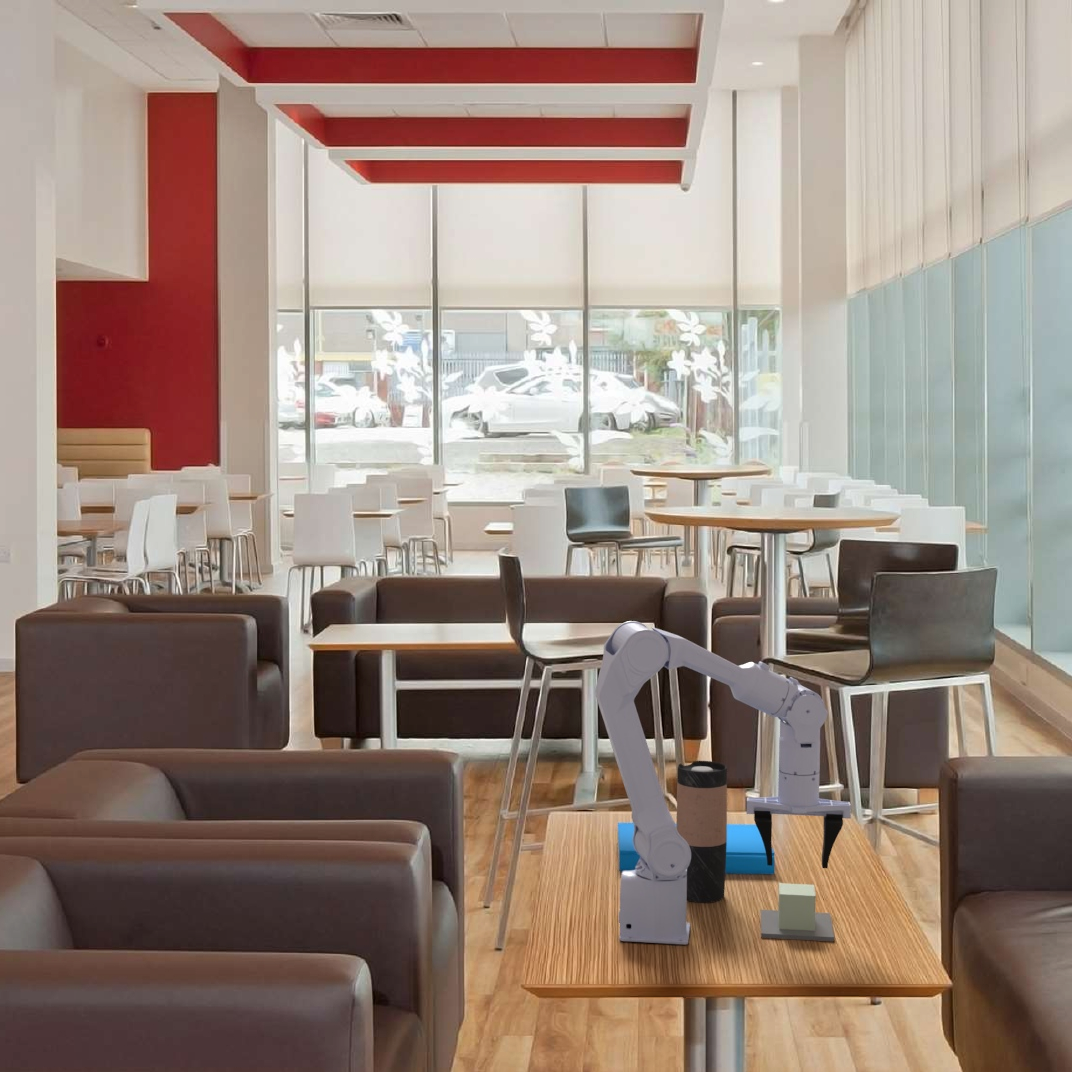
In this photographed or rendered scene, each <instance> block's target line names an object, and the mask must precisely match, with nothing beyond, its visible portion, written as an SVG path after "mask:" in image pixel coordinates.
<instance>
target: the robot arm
mask: <svg viewBox="0 0 1072 1072" xmlns="http://www.w3.org/2000/svg"><path fill="white" fill-rule="evenodd" d="M602 654H603V656H602V660H601V665H600V668H599V674H598V676H597V677H598V678H597V681H596V685H595V693H594V694H595V697H596V701H597V703H598V704H597V705H598V707H599V711H600V714H601V716H602V719H603V722H604V726H605V730H606V732H607V733H606V734H607V735H608V739H609V741H610V746H611V748H612V752H613V754H614V758H615V761H616V763H617V766H618V767H617V768H618V770H619V773H620V776H621V780H622V783H623V785H624V789H625V792H626V795H627V798H628V802H629V805H630V807H631V820H632V823H633V824H634V834H633V845H634V848H635V850H636V852H637V853H638V854H639V855H640V859H639V861H638V863H637V865H636V867H635V870H631V871H622V872H621V876H620V888H619V889H620V890H619V910H618V923H619V941H621V942H629V943H630V942H633V943H648V944H649V943H650V944H651V943H652V944H653V943H654V944H665V945H666V944H668V945H688V944H689V938H690V937H689V936H690V932H691V931H690V929H691V923H690V922H689V921H688V922H687V913H688V912H687V911H688V910H687V905H688V904H687V902H688V901H687V868H688V866H689V864H690V861H691V850H690V846H689V845H688V843H687V842H686V840H685V839H684V838H683V837H681V835H680V834H679V833H678V831H677V828H676V825H675V823H676V822H675V820H674V818H673V816H672V814H671V812H670V810H669V808H668V805H667V803H666V800H665V796H664V794H663V790H662V787H661V783H660V779H659V777H658V774H657V771H656V767H655V764H654V761H653V758H652V755H651V753H650V749H649V746H648V745H649V744H648V743H647V739H646V735H645V733H644V729H643V727H642V723H641V720H640V717H639V713H638V711H637V707H636V704H635V699H636V696H637V695H638V694H639V692H640V691H641V688H642V687H643V686H644V684H645V683H646V682H647V681H649V680H651V678H652V677H653V676H655V675H656V674H657V673H658V672H660V670H661V669H662V668H663V667H664V668H666V669H667V670H673V669H677V668H681V667H685V668H688V669H690V670H693V671H695V672H698V673H700V674H702V675H704V676H706V677H709V678H712V679H713V680H716V681H718V682H720V683H721V684H722V683H723V684H725V685H727V686H728V687H729V688H730V690H731V693H732V696H733V698H734V699H735V700H737V701H739V702H741V703H743V704H745V705H747V706H750V707H751V708H753V709H756V710H758V711H759V712H762V713H764V714H766V715H768V716H770V717H773V718H778V720H779V737H778V777H777V782H778V783H777V789H778V790H777V796H767V797H766V796H765V797H763V796H762V797H746V814H747V815H753V816H754V817H753V819H754V823H755V825H756V826H757V828H758V830H759V833H760V835H761V838H762V841H763V844H764V847H765V851H766V856H767V865H771V866H772V848H773V846H772V836H773V835H772V829H773V816H772V815H792V816H793V815H794V816H810V817H811V816H812V817H814V816H816V817H823V841H822V851H821V852H822V853H821V868H822V869H828V864H829V860H830V855H831V852H832V849H833V847H834V844H835V841H836V839H837V837H838V835H839V834H840V832H841V831H842V829H843V825H844V820H843V819H847V820H848V819H851V818H852V817H851V816H852V815H851V813H852V804H851V802H850V801H841V800H833V799H826V798H820V770H821V769H820V765H821V759H820V758H821V728H822V726H823V725H824V724H825V722H826V721H827V719H828V718H827V717H828V714H829V713H828V712H829V710H828V709H826V705H825V702H824V699H822V697H821V695H819V693H817V692H815V691H813V690H811V689H809V688H807V687H806V686H803V685H802V684H801V683H800V682H799V680H798V679H796V678H793V677H792V676H790V677H789V678H787V677H785V676H782V675H780V674H778V673H776V672H774V671H772V670H770V667H771V666H770V665H769V664H767V663H765V662H762V661H761V660H760V661H758V663H755V662H753V661H749V662H746V663H744V664H740V665H737V664H735V663H733V662H732V661H729V660H727V659H725V658H723V657H721V656H720V655H718V654H716V653H714V652H712V651H710V650H708V649H706V648H704V647H702V646H700V645H698V644H697V643H694V642H693V641H690V640H688V639H687V638H684V637H682V636H680V635H678V634H675V633H671V632H669V631H666V630H664V629H663V630H662V629H660V628H657V627H653V626H652V627H651V628H649V627H647V625H645V624H644V623H642V622H639V621H635V620H633V621H632V620H629V621H625V622H623V623H621V624H619V625H618V626H617V627H616V628H614V630H613V631H612V633H611V634H610V636H609V637H608V638H607V640H606V642H604V644H603V653H602Z"/></svg>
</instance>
